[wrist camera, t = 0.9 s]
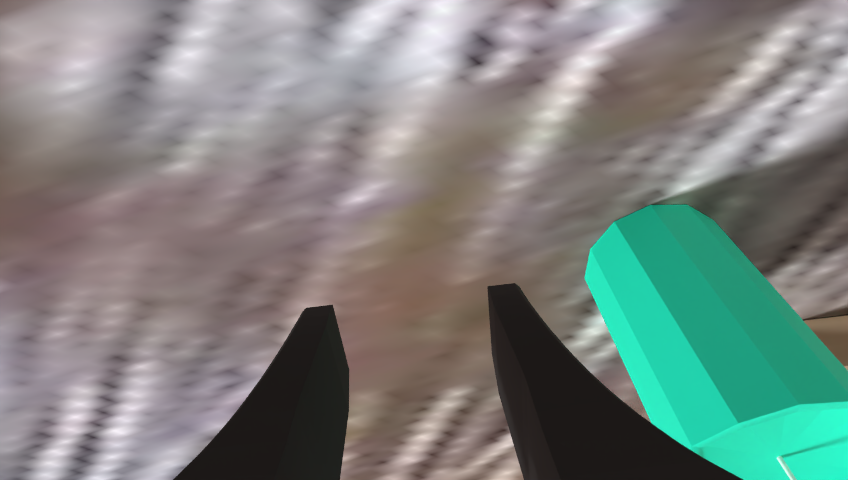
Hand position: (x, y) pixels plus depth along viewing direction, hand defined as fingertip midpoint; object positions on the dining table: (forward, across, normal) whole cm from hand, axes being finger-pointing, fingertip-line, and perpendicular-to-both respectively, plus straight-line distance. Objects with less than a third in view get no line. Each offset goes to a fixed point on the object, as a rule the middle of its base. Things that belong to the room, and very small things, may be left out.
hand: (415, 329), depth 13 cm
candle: (+11, -10, +7) cm, 16 cm away
